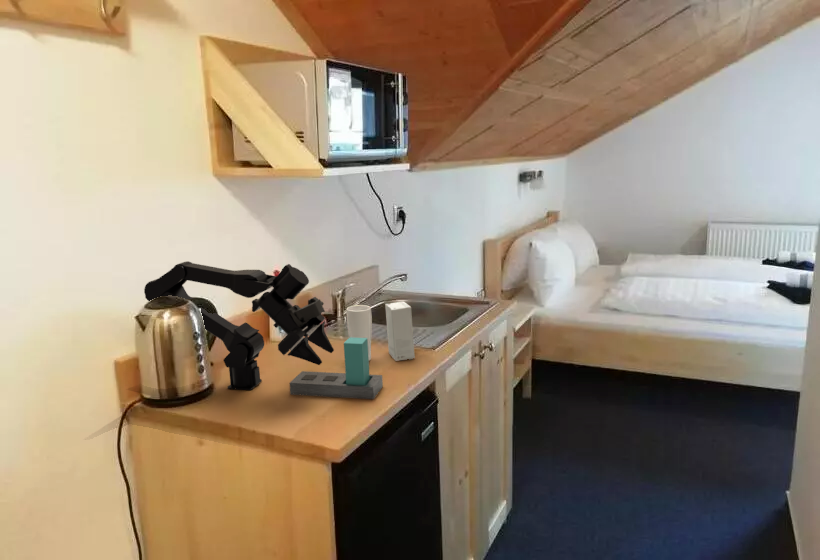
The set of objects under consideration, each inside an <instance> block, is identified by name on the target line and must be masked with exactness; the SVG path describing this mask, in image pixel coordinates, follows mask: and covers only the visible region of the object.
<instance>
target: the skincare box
mask: <svg viewBox="0 0 820 560" xmlns="http://www.w3.org/2000/svg"><path fill="white" fill-rule="evenodd" d="M384 305H385V317H386V331H387V333H386V335H387V345H388V348H387V349H388V354H389V355H390V356H391V357H392V359H394V361H395V362H399V361H406V360H407V359H409V360H414V359H416V358H415V346H414V345H415V343H414V332H413V331H414V330H413V317H412V315H413V314H412V307H411V305H409V304H408V303H407V302H405V301H396V302H390V303H385V304H384ZM413 358H414V359H413ZM407 361H408V360H407Z"/></svg>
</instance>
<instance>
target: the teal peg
mask: <svg viewBox="0 0 820 560" xmlns="http://www.w3.org/2000/svg"><path fill="white" fill-rule="evenodd" d="M343 351H344V352H343V354H344V369H345V372H344V373H346V384H351V385H367V384H368V382H369V381H370V378H369V374H370V362H369V361H370V360H369V358H368V339H367V338H353V337H349V336H348V338H347V339H346V340H345V341H344V342H343Z"/></svg>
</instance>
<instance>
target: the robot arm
mask: <svg viewBox="0 0 820 560" xmlns="http://www.w3.org/2000/svg"><path fill="white" fill-rule="evenodd" d="M187 281H190V282H195V283H200V284H205V285H209V286H210V285H211V286H215V287H221V288H226V289H228V290H230V291H231V292H232V293H234V294H236V295H238V296H242V297H244V298H247V299H249V298H250V299H251V298H252V299H253V298H254V297H257V296H258V295H260V297H259V298H255V299H253V300H252V301H251V303H252V307H251V312H253V313H255V312H257V311H258V310H260V309H261V310H262V311H263V312H264V313H265V314H266V315H267V316H268V318H270V319H271V320H272V321H273V322H274V324H273V327H275V329H277V328H280V329H281V330H282V331H283V332H284V333H285V334H286V336H285V337H283V339H282V340H281V341H280V342H279V343H278V344H277V348H278V349H277V350H278V351H279V352H280V353H281V354H282V355H283V356H285V355H286V354H287V353H288V354H287V356H288V357H290V356H291V357H294V358H297V359H301V360H305V361H306V362H308V363H312V364H314V365H317V366H320V365H322V363H323V360H321V358H320V357H319V355H318V354H317V353H316V351H315V350H314V349H313V348H312V346H311V345H310V344H309V342H310V343H311V344H314V345H316V346H318V347H319V348H320V349H323V350H324V351H326V352H328V353H330V354H332V353H333V352H334V351H335V349H334V347H333V346H332V344H331V342H330V340H329V338H328V336H327V334H326V332H325V324H326V321H325V320H326V317H325V316H324V315H322V313H324V312H325V309H324V304H325V303H324V302H323V301H322V300H321V299H320V298H319V299H318V298H317V297H316V296H314V297H311V298H310V299H308V300H307V304H306V305H304V306H302V307H300V306H299V305H298V304H294V305H292V304H291V303H290V302H289V301H288V300H290V301H291V300H294V299H295V298H296V297H297V296H298V295H299V294H300V293H301V292H302V291H303V290H304V288H306V287H307V286H308V285H309V283H310V280H309V277H308V276H307V275H306V274H305V273H304V271H302V270H300V269H299V268H297V267H295V266H294V267H293V266H292V265H291V264H289V263H288V264H286V265H284V266H283V267H282V269H281V271H280V272H279V273H278V274H277V275H272V274H266V271H264V270H262V269H240V270H231V269H226V268H220V267H217V266H216V267H215V266H210V265H205V264H199V263H193V262H191V261H183V262H180V263H177V264H175V265H174V266H173V268H171V269H170V270H168V271H167V272H166V273H164V274H162V275H161V276H159V278H156V279H154V280H151V281H148V282H147V283H146V284H145V286H144V288H143V290H144V296H145V297H144V298H145V299H146V300H147V302H149V301H150V300H152V299H154V298H157V297H160V296H168V295H172V296H178V297H182V298H185V299H194V298H193V297H191V296H190V295H189V294H188V293H187V291H186V289H185V287H184V284H186V282H187ZM271 288H272V289H271ZM269 289H271V290H270V291H267V290H269ZM261 294H262V295H261ZM201 313H202V316H203V320H204V325H205V329H206V330H205V329H204V330H205V331H207V332H208V333H210V334H211V335H212V336H214V337H216V338H218V339H219V340H220V341H222V343H223V345H224V346H225V348H226V350H227V351H228V352H229V353H227V355H226V356H225V357H224V358H223V363H224V365H225V367H226V368H228V370H229V371H228V373H229V381H230V382H229V383H230V384H229V385H228V386H227V389H228V390H239V391H240V390H241V391H251V390H254V388H255V387H256V386H258V385H259V384H260V383H261V382H263V380H262V378H261V374H260V373H261V372H260V366H259V365H258V360H257V359H256V358H259V356H260V353H261V352H262V350H264V347H265V341H264V337H263V336H264V335H262V334H261V333H260V332H259V331H260V329H257V328H255V327H252V326H251V325H250V324H249V323H248V322H244V323H242V324H240V325H236V324H233V323H232V322H230V321H229V320H227V319H226V318H224V317H222V316H221V315H219V314H218V313H216V312H215V313H213V314H212V313H208V312H207V311H206V310H205V309H203V308H201Z"/></svg>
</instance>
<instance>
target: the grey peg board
mask: <svg viewBox="0 0 820 560" xmlns="http://www.w3.org/2000/svg"><path fill="white" fill-rule="evenodd" d="M369 378H370V381H369V382H368V384H367V385H351V384H346V373H345V372H326V371H325V372H324V371H307V370H302V371H301V372H299V373H298V374H297V375H296V376H295V377H294V378H293V379H292V380H290V382H289V394H290V395H291V396H292V395H293V396H306V397H307V396H308V397H310V396H312V397H325V398H326V397H327V398H328V397H329V398H342V399H343V398H344V399H362V400H364V399H365V400H375V398H376V397H377V396H376V395H378V394H379V393H380V391H381V390H382V388H383V386H384V385H383V384H384V381H383V375H382V374H370V373H369ZM378 392H379V393H378Z"/></svg>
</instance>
